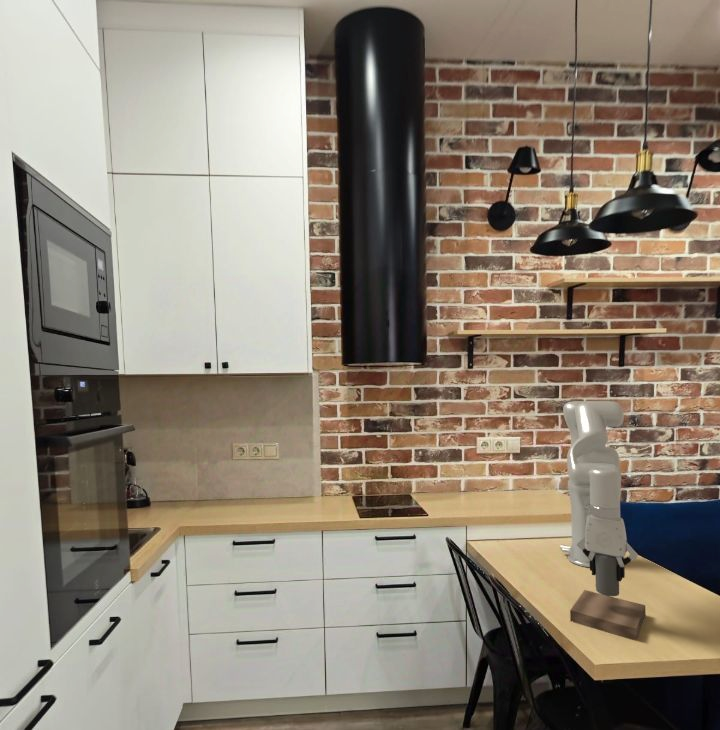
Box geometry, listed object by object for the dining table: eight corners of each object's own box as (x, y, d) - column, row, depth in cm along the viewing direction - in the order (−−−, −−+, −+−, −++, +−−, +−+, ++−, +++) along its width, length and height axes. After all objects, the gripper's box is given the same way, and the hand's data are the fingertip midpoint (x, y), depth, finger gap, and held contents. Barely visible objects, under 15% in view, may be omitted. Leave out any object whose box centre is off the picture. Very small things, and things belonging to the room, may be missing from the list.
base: (570, 621, 129) (570, 610, 129) (584, 599, 142) (584, 589, 142) (636, 640, 119) (636, 628, 119) (645, 616, 132) (645, 605, 132)
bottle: (592, 587, 134) (590, 534, 134) (612, 587, 134) (611, 534, 134) (602, 596, 128) (600, 541, 128) (623, 596, 128) (621, 541, 128)
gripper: (569, 510, 134) (571, 573, 133) (638, 520, 123) (640, 589, 123) (576, 504, 140) (577, 565, 139) (642, 514, 129) (644, 580, 128)
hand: (607, 576), depth 131 cm, fingers closed on bottle, 5 cm apart
